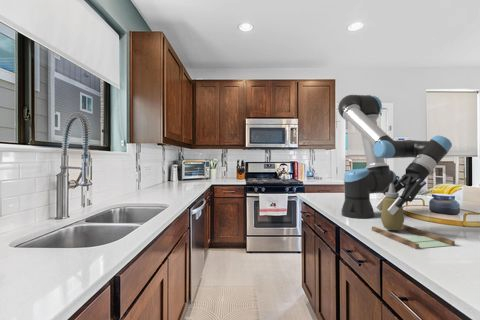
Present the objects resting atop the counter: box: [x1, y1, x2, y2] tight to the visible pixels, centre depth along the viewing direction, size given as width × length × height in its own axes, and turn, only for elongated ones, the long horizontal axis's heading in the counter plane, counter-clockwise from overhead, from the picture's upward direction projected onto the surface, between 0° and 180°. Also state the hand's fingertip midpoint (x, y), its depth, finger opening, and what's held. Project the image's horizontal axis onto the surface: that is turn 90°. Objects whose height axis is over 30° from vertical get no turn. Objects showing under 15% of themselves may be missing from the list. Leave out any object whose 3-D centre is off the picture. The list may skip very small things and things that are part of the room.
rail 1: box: [371, 226, 420, 250], centre depth 94 cm, size 22×1×2 cm, turn 8°
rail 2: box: [401, 223, 456, 247], centre depth 96 cm, size 22×1×2 cm, turn 8°
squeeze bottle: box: [380, 184, 405, 231], centre depth 103 cm, size 8×8×18 cm
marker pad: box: [404, 235, 451, 249], centre depth 89 cm, size 10×11×1 cm
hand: (384, 210), depth 103 cm, fingers closed on squeeze bottle, 6 cm apart
